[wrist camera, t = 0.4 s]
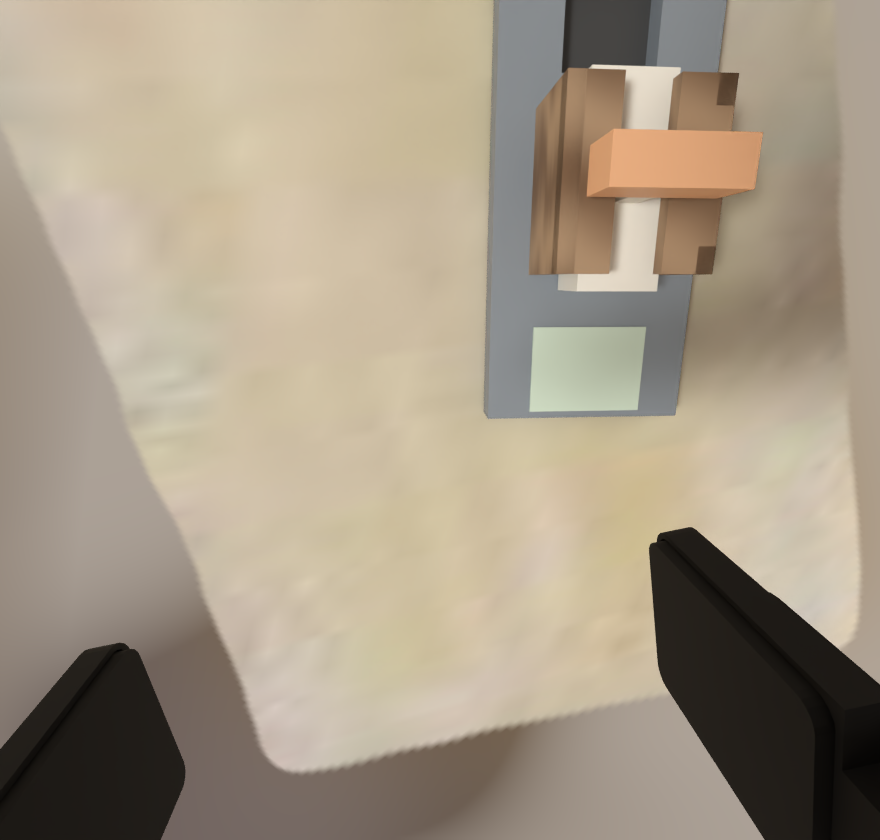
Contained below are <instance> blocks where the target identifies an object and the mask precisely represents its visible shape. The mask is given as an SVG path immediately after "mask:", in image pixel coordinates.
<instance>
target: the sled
mask: <svg viewBox="0 0 880 840" xmlns="http://www.w3.org/2000/svg"><path fill="white" fill-rule="evenodd" d="M590 68H591V69H623V70H626V77H625V89H624V101H623V113H622V125H621V129H613V130H611V131H610V132H608V133H607V134H605V135H604V136H603V137H601V138H600V139H598V140H597V141H596V142H594V143H593V144H591V145H590V155H589V169H588V184H587V197H615V209H614V221H613V233H612V245H611V257H610V269H609V274H559V275H558V290H563V291H657V285H658V276H659V274H653V267H654V257H655V248H656V238H657V228H658V219H659V209H660V200H661V198H709V199H718V198H721V197H725V196H729V195H733V194H737V193H741V192H745V191H749V190H753V189H755V183H756V177H757V170H758V163H759V156H760V150H761V143H762V136H763V132H737V131H694V130H668V123H669V114H670V104H671V95H672V85H673V78H675V77H676V76H677V75H679V74H680V71H681V67H653V66H622V65H592V66H591V67H590Z"/></svg>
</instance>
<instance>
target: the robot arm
mask: <svg viewBox="0 0 880 840" xmlns="http://www.w3.org/2000/svg"><path fill="white" fill-rule="evenodd" d="M649 556H650V569H651V581H652V594H653V607H654V620H655V633H656V646H657V658H658V667H659V671H660V674H661V677H662V680H663V682H664V684H665V686H666V687H667V689H668V691H669V692H670V694H671V695H672V697H673V698H674V700H675V701H676V703H677V704H678V706H679V708H680V709H681V711H682V712H683V714H684V715H685V717H686V718H687V720H688V722H689V723H690V725H691V726H692V728H693V729H694V731H695V732H696V734H697V736H698V737H699V739H700V740H701V742H702V743H703V745H704V746H705V748H706V749H707V751H708V753H709V754H710V756H711V757H712V758H713V760H714V762H715V763H716V765H717V766H718V768H719V769H720V771H721V773H722V774H723V776H724V777H725V779H726V780H727V782H728V784H729V785H730V787H731V788H732V789H733V791H734V793H735V794H736V796H737V797H738V799H739V801H740V802H741V804H742V805H743V807H744V808H745V810H746V811H747V813H748V815H749V816H750V818H751V819H752V821H753V822H754V824H755V825H756V827H757V828H758V830H759V832H760V833H761V835H762V836H763V838H764V839H765V840H880V684H879V683H877V682H876V681H875V680H874V679H873V678H871V677H870V676H869V675H868V674H867V673H866V672H865V671H863V670H862V669H861V668H860V667H859V666H857V665H856V664H855V663H854V662H853V661H852V660H850V659H849V658H848V657H847V656H846V655H845V654H843V653H842V652H841V651H840V650H839V649H838V648H836V647H835V646H834V645H833V644H832V643H831V642H829V641H828V640H827V639H826V638H825V637H824V636H822V635H821V634H820V633H819V632H818V631H817V630H815V629H814V628H813V627H812V626H811V625H809V624H808V623H807V622H806V621H805V620H804V619H802V618H801V617H800V616H799V615H798V614H797V613H795V612H794V611H793V610H792V609H791V608H790V607H788V606H787V605H786V604H785V603H784V602H783V601H781V600H780V599H779V598H778V597H776V596H775V595H773V594H772V593H769V592H768V591H766V590H765V589H764V588H763V587H762V586H761V585H759V584H758V583H757V582H756V581H755V580H754V579H752V578H751V577H750V576H749V575H748V574H747V573H745V572H744V571H743V570H742V569H741V568H740V567H738V566H737V565H736V564H735V563H734V562H733V561H732V560H730V559H729V558H728V557H727V556H726V555H725V554H723V553H722V552H721V551H720V550H719V549H718V548H716V547H715V546H714V545H713V544H712V543H711V542H709V541H708V540H707V539H706V538H705V537H704V536H703V535H701V534H700V533H699V532H698V531H697V530H695V529H694V528H692V527H688V528H683V529H678V530H673V531H668V532H663V533H660V534H659V535H658V538H657V542H656V543H651V544H650V547H649ZM184 781H185V765H184V761H183V759H182V756H181V754H180V752H179V749H178V747H177V744H176V742H175V739H174V737H173V735H172V732H171V730H170V727H169V725H168V722H167V720H166V718H165V716H164V713H163V710H162V708H161V706H160V703H159V701H158V698H157V696H156V694H155V691H154V689H153V686H152V684H151V681H150V679H149V677H148V674H147V672H146V669H145V667H144V664H143V662H142V660H141V657H140V655H139V653H138V652H137V651H136V650H135V649H129V647H128V646H127V645H126V644H124V643H116V644H111V645H106V646H101V647H96V648H92V649H88V650H85V651H84V652H83V653H82V654H81V655H79V657H78V658H77V659H76V660H75V661H74V663H73V664H72V665H71V666H70V667H69V668H68V670H67V671H66V672H65V673H64V674H63V676H62V677H61V678H60V679H59V680H58V681H57V683H56V684H55V685H54V686H53V687H52V689H51V690H50V691H49V692H48V693H47V695H46V696H45V697H44V698H43V699H42V700H41V702H40V703H39V704H38V705H37V707H36V708H35V709H34V710H33V711H32V712H31V713H30V715H29V716H28V717H27V718H26V720H25V721H24V722H23V723H22V724H21V725H20V726H19V728H18V729H17V730H16V731H15V733H14V734H13V735H12V736H11V737H10V738H9V740H8V741H7V742H6V743H5V744H4V745H3V747H2V748H1V749H0V840H161V837H162V835H163V833H164V830H165V828H166V826H167V824H168V821H169V819H170V817H171V814H172V812H173V809H174V807H175V805H176V802H177V800H178V798H179V795H180V793H181V791H182V788H183V785H184Z"/></svg>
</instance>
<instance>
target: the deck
mask: <svg viewBox="0 0 880 840" xmlns="http://www.w3.org/2000/svg"><path fill="white" fill-rule="evenodd" d="M726 2H727V0H494V17H493V58H492V98H491V139H490V179H489V219H488V260H487V300H486V341H485V381H484V413H485V415H486V416H487V418H488V419H495V418H554V417H613V416H673V415H675V414H676V406H677V398H678V390H679V382H680V373H681V365H682V357H683V349H684V341H685V333H686V325H687V317H688V309H689V301H690V293H691V285H692V277H693V275H659V276H658V285H657V291H563V290H558V275H559V274H554V275H529V254H530V232H531V209H532V187H533V165H534V142H535V120H536V108H537V107H538V105H539V104H540V103H541V102H542V100H543V99H544V98H545V97H546V95H547V94H548V93H549V92H550V90H551V89H552V88H553V87H554V85H555V84H556V83H557V81H558V80H559V79H560V78H561V76H562V75H563V74H564V73H565V71H566V70H567V69H568V68H590V67H591V66H592V65H622V66H653V67H681V71H680V73H682V72H683V71H686V72H718V67H719V59H720V51H721V43H722V35H723V26H724V18H725V10H726Z"/></svg>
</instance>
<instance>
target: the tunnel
mask: <svg viewBox="0 0 880 840" xmlns="http://www.w3.org/2000/svg"><path fill="white" fill-rule="evenodd" d="M625 77H626V70H623V69H591V68H568V69H567V70H566V71H565V73H564V74H563V75H562V76H561V78H560V79H559V80H558V81H557V83H556V84H555V85H554V87H553V88H552V89H551V90H550V92H549V93H548V94H547V95H546V97H545V98H544V99H543V100H542V102H541V103H540V104H539V105H538V107H537V108H536V120H535V142H534V165H533V187H532V209H531V232H530V254H529V275H554V274H609V269H610V257H611V245H612V233H613V221H614V209H615V197H587V184H588V169H589V155H590V145H591V144H593V143H594V142H596V141H597V140H598V139H600V138H601V137H603V136H604V135H605V134H607V133H608V132H610V131H611V130H613V129H621V125H622V113H623V101H624V89H625ZM738 77H739V73H718V72H686V71H683V72H682V73H680V74H679V75H677V76H676V77H675V78H673V85H672V95H671V104H670V114H669V123H668V130H694V131H731V130H732V122H733V115H734V107H735V100H736V92H737V85H738ZM721 205H722V197H721V198H718V199H709V198H661V200H660V209H659V219H658V228H657V238H656V248H655V257H654V267H653V274H659V275H696V274H712V272H713V265H714V257H715V250H716V242H717V235H718V227H719V220H720V212H721Z"/></svg>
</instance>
